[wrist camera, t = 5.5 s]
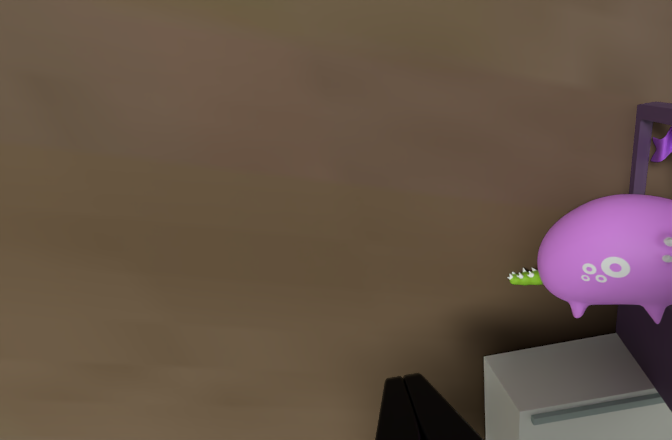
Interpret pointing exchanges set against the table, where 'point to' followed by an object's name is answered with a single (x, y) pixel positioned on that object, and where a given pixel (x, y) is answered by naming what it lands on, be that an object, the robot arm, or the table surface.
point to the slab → (572, 394)
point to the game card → (620, 257)
